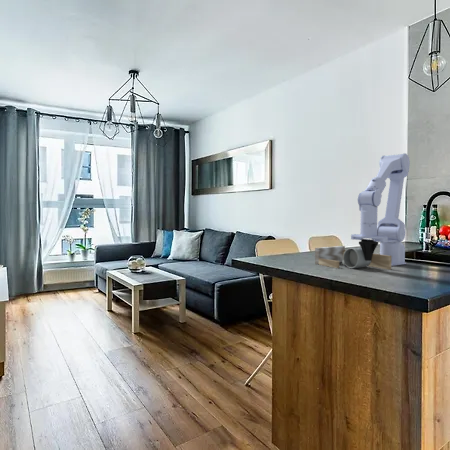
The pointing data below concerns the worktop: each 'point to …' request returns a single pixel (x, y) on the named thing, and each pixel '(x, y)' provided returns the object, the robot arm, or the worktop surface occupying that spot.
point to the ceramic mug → (355, 258)
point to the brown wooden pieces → (335, 255)
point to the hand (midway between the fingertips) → (368, 260)
